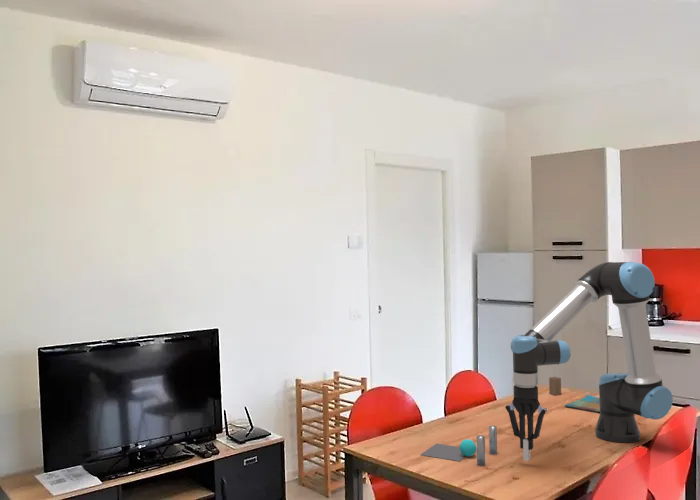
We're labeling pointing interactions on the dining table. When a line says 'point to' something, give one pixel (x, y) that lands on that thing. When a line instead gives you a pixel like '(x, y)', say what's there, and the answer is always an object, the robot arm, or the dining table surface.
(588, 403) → the dish towel
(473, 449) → the ball
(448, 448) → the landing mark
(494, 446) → the post
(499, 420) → the dining table surface
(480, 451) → the post
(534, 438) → the robot arm
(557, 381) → the wooden block
